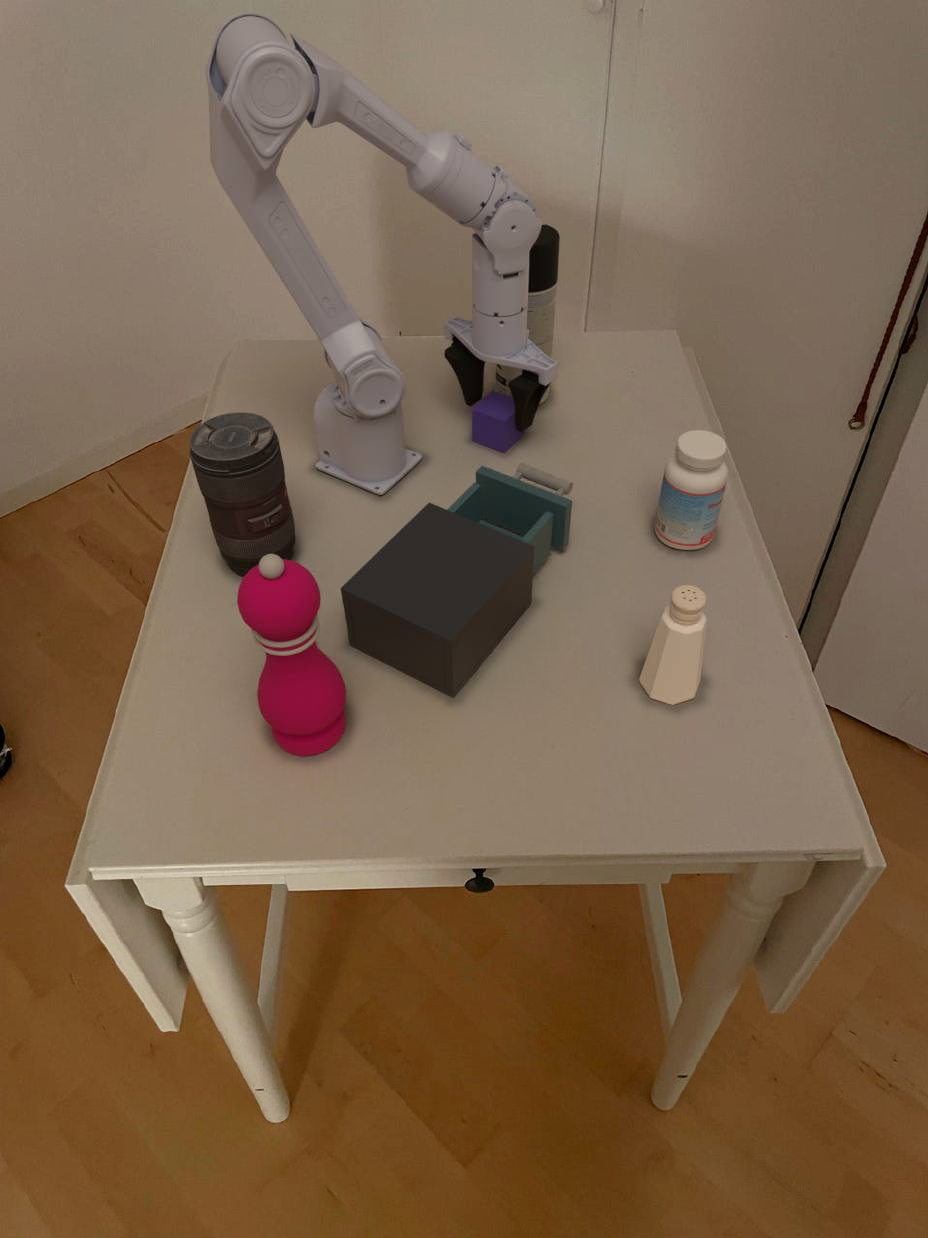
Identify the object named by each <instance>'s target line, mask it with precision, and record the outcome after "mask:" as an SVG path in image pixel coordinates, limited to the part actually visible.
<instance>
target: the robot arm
mask: <svg viewBox="0 0 928 1238" xmlns="http://www.w3.org/2000/svg"><path fill="white" fill-rule="evenodd" d="M288 33H289V35H290V38H291V39H292V42H293V45H294V47H293V46H292V45H291V43H290V42H289V41H288V38H287V36H286V34H285V33H284V31H283V29H282V28H281V27H280V25H278V24H277V23H276V22H275V21H274V20H273V19H272V18H270V17H269V16H267V15H265V14H262V13H261V12H255V11H243V12H238V13H236V14H234V15H232V16H230V17H229V18H227V20H225V21H223V23H222V25H221V26H220V28H219V29H218V30H217V33H216V35H215V38H214V41H213V44H212V46H211V51H210V53H209V57H208V59H207V63H206V66H205V75H206V84H207V92H208V93H207V94H208V119H209V120H208V121H209V122H208V123H209V126H208V127H209V159H210V163H211V166H212V168H213V171H214V174H215V175H216V177H217V180H218V182H219V185H221V187H222V189H223V190H224V192H225V194H226V196H227V197H228V198H229V200H230V201H231V203H232V205H233V207H234V208H235V209H236V211H237V212H238V214H239V216H240V217H241V219H242V220H243V222H244V223H245V225H246V227H247V228H248V229H249V232H250V233H251V235H252V236H253V238H254V239H255V241H256V242H257V244H258V245H259V247H260V248H261V250H262V251H263V253H264V255H265V257H266V258H267V260H268V262H269V263H270V264H271V266H272V268H273V269H274V271H275V272H276V274H277V276H278V277H279V278H280V280H281V281H282V283H283V285H284V286H285V288H286V290H287V291H288V293H289V294H290V296H291V298H292V299H293V300H294V302H295V304H296V306H298V309H299V311H301V313H302V314H303V315H302V316H304V318H305V320H306V321H307V322H308V324H309V326H310V327H311V329H312V330H313V332H314V333H315V335H316V337H317V338H318V340H319V342H320V343H321V345H322V346H323V355H324V359H325V362H326V364H327V366H328V367H329V368H330V369H331V372H332V373H333V375H334V377H335V379H336V381H334V382H331V383H329V384H327V385H326V386H324V388H323V389H322V390H321V391H320V393H319V394H318V396H317V398H316V399H315V403H314V406H313V412H312V413H313V414H312V417H313V418H312V419H313V427H314V432H315V438H316V439H315V440H316V443H317V444H316V445H317V450H318V451H317V452H318V457H319V461H317V462H316V463H315V468H316V470H318V471H321V472H323V473H326V474H328V475H331V476H333V477H336V478H338V479H340V480H343V481H345V482H348V483H349V484H352V485H354V486H357V487H359V488H361V489H363V490H366V491H369V492H371V493H374V494H376V495H378V496H384V495H385V494H386V493H387V492H388V491H389V490H390V489H391V488H393V487H394V486H395V485H396V484H397V483H398V482H399V481H400V480H401V479H402V478H404V476H405V475H407V474H408V473H409V472H410V471H412V470H413V468H414V467H416V466H417V465H418V464H419V463H420V462H421V461H422V460H423V455H422V454H421V453H419V452H416V451H414V450H411V449H408V448H406V443H405V440H406V439H405V429H404V418H403V417H404V416H403V405H402V403H403V399H404V398H405V394H406V390H407V383H406V378H405V376H404V374H403V372H402V371H401V370H400V368H399V367H398V366H397V365H396V363H395V361H394V360H393V359H392V356H391V355H390V353H389V352H388V349H386V347H385V345H384V343H383V341H382V336H381V335H380V334H379V331H378V330H377V329H376V328H375V327H374V326H373V325H372V324H370V323H368V322H366V321H365V320H363V319H362V318H361V317H360V316H359V315H358V314H357V311H356V310H355V308H354V306H353V305H352V303H351V301H350V300H349V298H348V296H347V295H346V293H345V291H344V289H343V288H342V286H341V284H340V282H339V281H338V279H337V277H336V276H335V274H334V272H333V270H332V269H331V267H330V265H329V264H328V261H327V260H326V258H325V257H324V255H323V253H322V251H321V250H320V248H319V246H318V245H317V243H316V241H315V239H314V237H313V236H312V234H311V232H310V230H309V229H308V227H307V225H306V224H305V222H304V220H303V219H302V217H301V215H300V213H299V212H298V210H297V208H296V207H295V205H294V202H292V200H291V198H290V196H289V195H288V193H287V191H286V189H285V187H284V186H283V184H282V182H281V181H280V179H279V176H278V175H277V170H278V167H279V164H280V161H281V158H282V155H283V152H284V149H285V148H286V147H287V145H288V144H289V142H290V141H291V140H292V139H293V137H294V136H295V134H296V133H297V132H298V131H299V129H300V128H301V126H302V125H303V124H304V122H305V121H307V123H308V124H309V125H310V127H311V128H313V129H317V128H321V127H325V126H327V125H330V124H334V123H340V124H341V125H343V126H345V127H346V128H348V130H350V131H352V132H353V133H355V134H356V135H358V136H359V137H361V138H363V140H365V141H367V142H368V143H370V144H371V145H373V146H374V147H376V148H377V149H379V150H380V151H381V152H383V153H385V154H386V155H388V156H389V157H390V158H392V159H394V160H395V161H396V162H398V163H399V164H401V165H402V166H403V167H405V172H406V173H405V174H406V180H407V184H408V186H409V188H410V189H411V190H412V191H413V192H414V193H416V194H417V195H418V196H420V198H422V199H424V200H425V201H426V202H428V203H430V204H431V205H432V206H434V207H435V208H437V209H438V210H439V211H440V212H442V213H444V214H445V215H446V216H448V217H449V218H451V219H452V220H453V221H455V222H456V223H458V224H459V225H460V226H462V227H466V228H471V229H472V230H473V231H474V233H472V234H471V254H472V257H471V287H472V288H471V291H472V292H471V294H472V295H471V297H472V298H471V299H472V300H471V301H472V303H471V304H472V305H471V307H472V320H469V319H465V318H462V317H460V316H458V315H455V316H454V317H452V318H450V319H448V320H447V321H445V322H444V323H443V326H444V328H443V329H444V339H446V340H447V341H450V342H451V344H450V346H448V347H447V348H445V349H444V352H443V354H444V359H445V360H446V361H447V362H448V364H449V365H450V367H451V368H452V370H453V372H454V374H455V376H456V379H457V380H458V384H459V386H460V390H461V393H462V397H463V399H464V402H465V405H466V406H468V407H472V406H474V405H476V404H478V403H479V402H481V401H482V400H483V396H484V383H485V366H486V363H491V364H495V365H496V364H499V365H504V366H509V367H513V368H518V369H520V370H522V375H519V376H518V377H516V378H515V379H513V380H512V381H510V382H509V383H508V386H509V388H510V391H511V393H512V396H513V400H514V406H515V427H516V430H517V431H519V432H523V431H524V432H525V431H526V430H527V429H529V428H531V427H532V426H533V423H534V420H535V417H536V413H537V410H538V408H539V406H540V405H539V403H540V401H541V399H542V397H543V395H544V393H545V392H546V390H547V388H548V387H549V385H550V386H551V385H552V382H554V381H555V380H557V379H558V372H559V362H558V361H557V360H554V359H553V358H552V359H551V358H549V357H548V356H547V355H546V354H545V353H543V352H542V351H541V350H540V349H539V348H538V347H537V346H536V345H535V344H534V343H533V342H531V341H530V340H529V339H528V337H529V330H528V329H527V308H528V282H529V251H530V249H531V247H532V245H533V244H534V243H535V241H536V240H537V238H538V236H539V233H540V230H541V226H542V225H543V222H542V220H540V219H539V214H538V211H537V210H536V208H537V207H536V205H535V203H534V201H533V200H532V199H531V198H530V197H529V196H528V195H527V194H526V193H525V192H524V191H523V190H522V189H521V188H520V187H519V186H518V185H517V184H516V182H513V180H512V179H510V178H509V177H508V176H509V173H508V171H506V170H505V168H503V167H502V166H500V165H499V164H496V165H495V166H494V167H493V166H492V165H491V164H490V163H488V162H487V161H485V160H484V159H483V158H482V157H481V156H480V155H478V153H476V152H474V151H473V150H472V149H471V148H472V146H473V142H472V141H471V140H470V139H469V138H468V137H467V136H465V135H464V134H463V133H462V132H461V131H459V130H457V131H456V132H455V133H454V134H452V133H450V131H448V130H446V129H434V130H430V131H425V132H424V131H422V130H421V129H419V127H417V126H416V125H415V124H413V122H411V121H409V119H407V118H406V117H405V116H404V115H403V114H402V113H400V112H399V111H398V110H397V109H395V108H394V107H393V106H392V105H390V104H389V103H388V102H387V101H386V100H384V99H383V98H382V97H381V96H379V94H377V93H376V92H375V91H374V90H373V89H371V88H370V87H369V86H368V85H366V84H365V83H364V82H363V81H362V80H360V79H359V78H358V77H357V76H356V75H354V74H353V73H352V72H350V70H348V69H347V68H346V67H345V66H343V65H342V64H341V63H340V62H339V61H337V60H336V59H334V58H333V57H331V56H330V55H328V54H327V53H325V52H323V50H321V49H319V48H318V47H316V46H315V45H313V44H311V43H310V42H308V41H306V40H305V39H303V38H302V37H300V36H299V35H297V34H294V33H293V32H291V31H289V32H288Z"/></svg>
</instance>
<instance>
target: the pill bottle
mask: <svg viewBox="0 0 928 1238" xmlns="http://www.w3.org/2000/svg"><path fill="white" fill-rule="evenodd" d="M674 452H675V453H674V454H672V455H671V456H670V457H669V458H668V459H667V462H666V463H665V465H664V470H663V471H664V472H663V477H662V483H661V488H660V492H659V493H660V494H659V499H658V503H657V509H656V516H655V522H654V532H655V535H656V536H657V538H658V540H660V541H661V542H662V543H663V544H664V545H666V546H668V547H670V548H672V549H677V550H681V551H682V550H684V551H695V550H700V549H703V548H705V547H706V546H708V545H709V544H710V543H711V542H712V540H713V538H714V537H715V533H716V529H717V524H718V521H719V516H720V512H721V508H722V504H723V500H724V495H725V490H726V488H727V487H726V486H727V482H728V477H729V471H728V467H727V465H726V463H725V458H726V452H727V443H726V441H725V439H723V438H722V437H721V436H720V435H718V434H716V433H714V432H713V431H709V430H703V429H693V430H688V431H686V432H683V433H682V434H681V435H680V436H679V437H678V439H677V441H676V446H675V450H674Z"/></svg>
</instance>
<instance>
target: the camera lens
mask: <svg viewBox="0 0 928 1238" xmlns="http://www.w3.org/2000/svg"><path fill="white" fill-rule="evenodd" d="M189 457H190V461H191V464H192V467H193V471H194V475H195V478H196V482H197V485H198V488H199V490H200V493H201V496H202V497H203V500H204V503H205V506H206V507H205V508H206V510H207V514H208V518H209V523H210V527H211V531H212V534H213V537H214V540H215V543H216V545H217V547H218V550H219V552H220V555H221V557H222V559H223V560H224V561H225V562H226V563H227V565H228V567H229V569H230V570H231V571H232V572H234V573H235V574H236V575H237V576H239V577H242V578H244V576H245V575H246V574H247V573H248V572H249V571H250V570H251V569H252V568H253V567H255V566H257V565H258V564H259V562H260V560H261V559H262V558H263V557H264V556H265V555H267V554H275V555H278V556H279V557H280V558H281V559H287V560H290V561H293V557H294V554H295V553H294V552H295V551H294V550H295V549H294V548H295V545H296V527H295V526H296V525H295V519H294V516H293V515H294V514H293V510H292V506H291V503H290V499H289V494H288V488H287V484H286V474H285V473H286V472H285V464H284V460H283V455H282V449H281V445H280V440H279V436H278V434H277V432H276V431H275V429H274V426H273V423H272V422H271V421H270V420H268V418H266V417H264V416H262V415H259V414H256V413H253V412H246V411H245V412H242V411H239V412H238V411H237V412H229V413H224V414H219V415H217V416H214V417H211V418H209V419H207V420H205V421H204V422H202V423H201V424H199V425H198V426H197V427H196V428H195V429H194V430H193V432H192V433H191V435H190V438H189Z"/></svg>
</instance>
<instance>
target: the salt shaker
mask: <svg viewBox="0 0 928 1238" xmlns="http://www.w3.org/2000/svg"><path fill="white" fill-rule="evenodd" d="M706 604H707V595H706V594H705V592H704V591H703V590H702V589H701V588H699V587H697V586H695V585H692V584H684V585H679V586H677V587H676V588H673V590H672V592H671V595H670V603H669V605H666V606H665V608H664V610H663V613H662V615H661V617H660V620H659V623H658V625H657V628H656V631H655V634H654V637H653V639H652V642H651V645H650V648H649V650H648V653H647V656H646V658H645V661H644V664H643V667H642V671H641V673H640V675H639V678H638V682H639V683H640V684H641V686H642V688H643V689H644V691H645V692H646V694H647V695H648V697H649V698H650V699H652V700H656V701H659V702H662V703H664V704H668V705H671V706H674V705H677V704H681V703H683V702H687V701H689V700H693V699H695V697H696V694H697V692H698V688H699V685H700V683H701V677H702V669H703V660H704V659H703V658H704V650H705V643H706V641H705V640H706V631H707V621H708V620H707V616H706V615H705V614H704V610H705V606H706Z"/></svg>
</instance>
